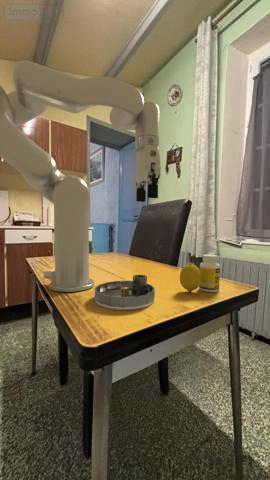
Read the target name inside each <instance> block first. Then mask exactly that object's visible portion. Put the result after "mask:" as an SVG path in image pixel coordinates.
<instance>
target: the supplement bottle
mask: <svg viewBox="0 0 270 480" xmlns="http://www.w3.org/2000/svg"><path fill="white" fill-rule="evenodd" d="M218 260H219V256H218V255H215V254H203V255H202V262H200V264H199V270H200V274H201V282H200V285H199V287H198V289H199V290H200V291H201V292H202V291H203V292H206V293H217V292H219V291H220V284H221V283H220V282H221V281H220V280H221V277H220V276H221V266H220V264H219V263H218Z"/></svg>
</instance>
